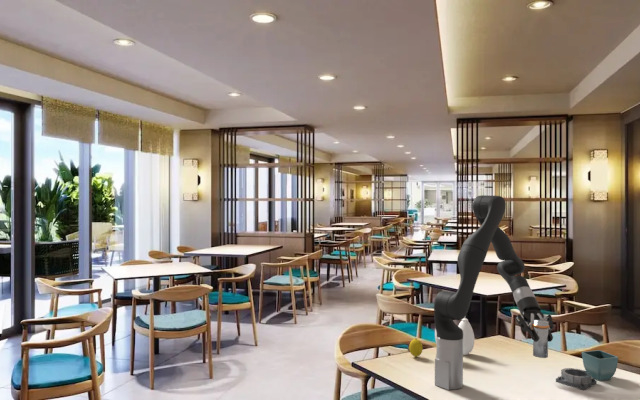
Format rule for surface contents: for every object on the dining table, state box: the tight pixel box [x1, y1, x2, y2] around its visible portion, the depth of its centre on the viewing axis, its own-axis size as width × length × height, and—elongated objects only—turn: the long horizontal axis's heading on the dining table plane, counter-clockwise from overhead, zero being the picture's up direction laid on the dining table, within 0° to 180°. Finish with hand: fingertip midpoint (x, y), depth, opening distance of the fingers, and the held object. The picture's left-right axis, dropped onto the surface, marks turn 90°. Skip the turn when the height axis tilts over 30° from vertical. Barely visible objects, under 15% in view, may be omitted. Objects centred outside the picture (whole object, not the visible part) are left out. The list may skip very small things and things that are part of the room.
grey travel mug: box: [532, 318, 549, 359], centre depth 180 cm, size 6×6×13 cm
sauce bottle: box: [457, 316, 475, 356], centre depth 210 cm, size 8×8×18 cm
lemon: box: [408, 338, 424, 358], centre depth 205 cm, size 6×6×8 cm
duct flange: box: [555, 367, 598, 391], centre depth 178 cm, size 10×10×4 cm
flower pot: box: [581, 349, 619, 382], centre depth 183 cm, size 9×9×9 cm
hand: (543, 340), depth 178 cm, fingers closed on grey travel mug, 5 cm apart
